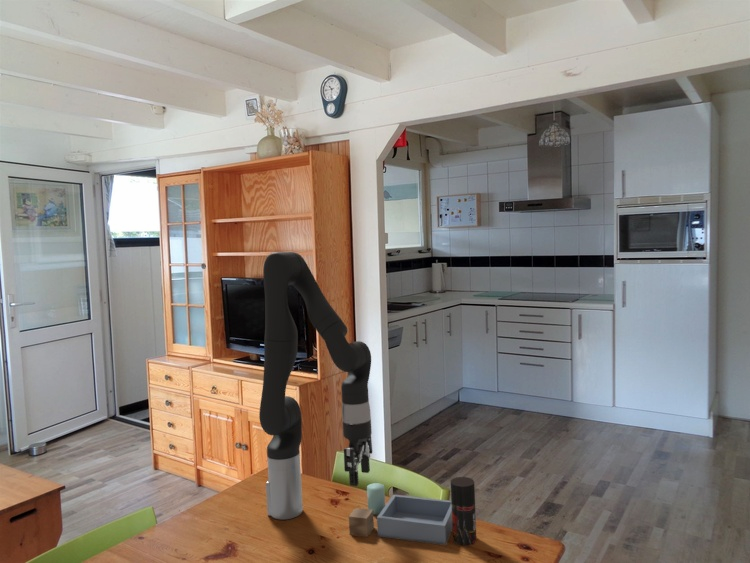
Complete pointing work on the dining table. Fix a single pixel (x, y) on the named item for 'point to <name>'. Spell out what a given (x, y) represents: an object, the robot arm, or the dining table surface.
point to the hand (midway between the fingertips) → (360, 478)
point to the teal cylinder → (376, 497)
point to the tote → (416, 519)
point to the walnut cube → (361, 522)
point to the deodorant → (463, 511)
